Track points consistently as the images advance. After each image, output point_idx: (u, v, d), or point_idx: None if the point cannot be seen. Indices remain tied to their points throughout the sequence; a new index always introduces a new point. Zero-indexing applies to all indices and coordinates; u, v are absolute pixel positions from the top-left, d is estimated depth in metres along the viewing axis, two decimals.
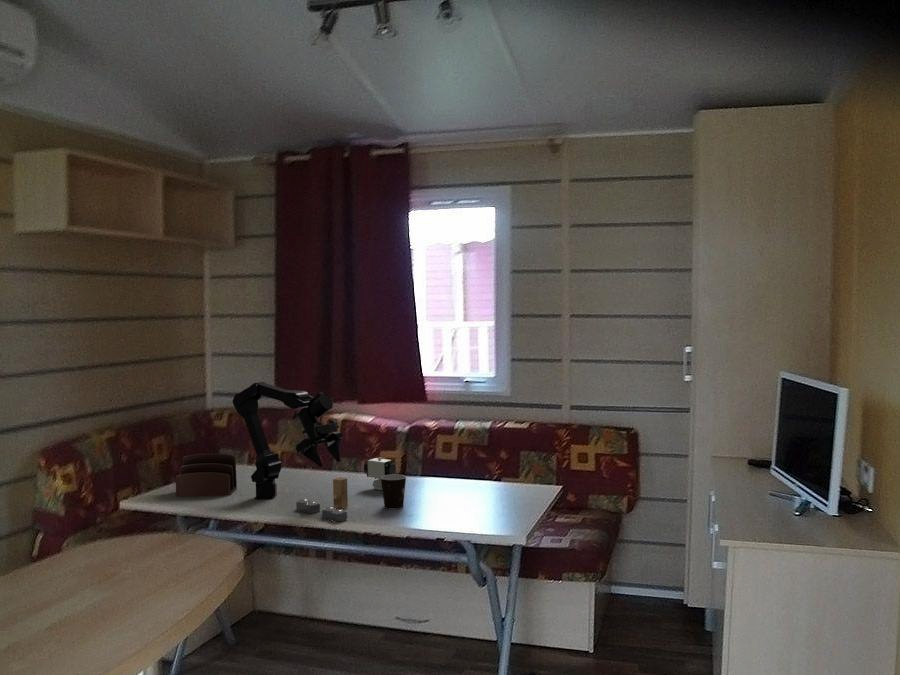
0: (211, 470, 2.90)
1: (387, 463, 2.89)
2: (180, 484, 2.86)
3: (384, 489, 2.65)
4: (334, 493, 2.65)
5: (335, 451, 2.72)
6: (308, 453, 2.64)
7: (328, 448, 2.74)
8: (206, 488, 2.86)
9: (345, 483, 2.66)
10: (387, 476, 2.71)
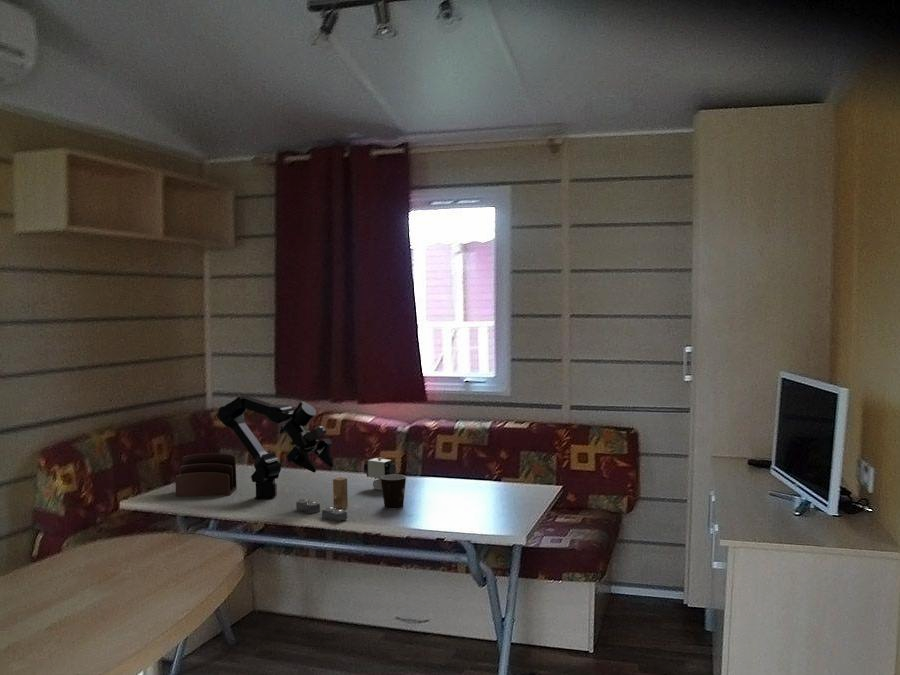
0: (211, 470, 2.91)
1: (387, 463, 2.89)
2: (179, 483, 2.86)
3: (384, 489, 2.65)
4: (334, 493, 2.65)
5: (326, 457, 2.74)
6: (300, 461, 2.66)
7: (319, 456, 2.76)
8: (206, 488, 2.86)
9: (345, 483, 2.66)
10: (387, 476, 2.71)
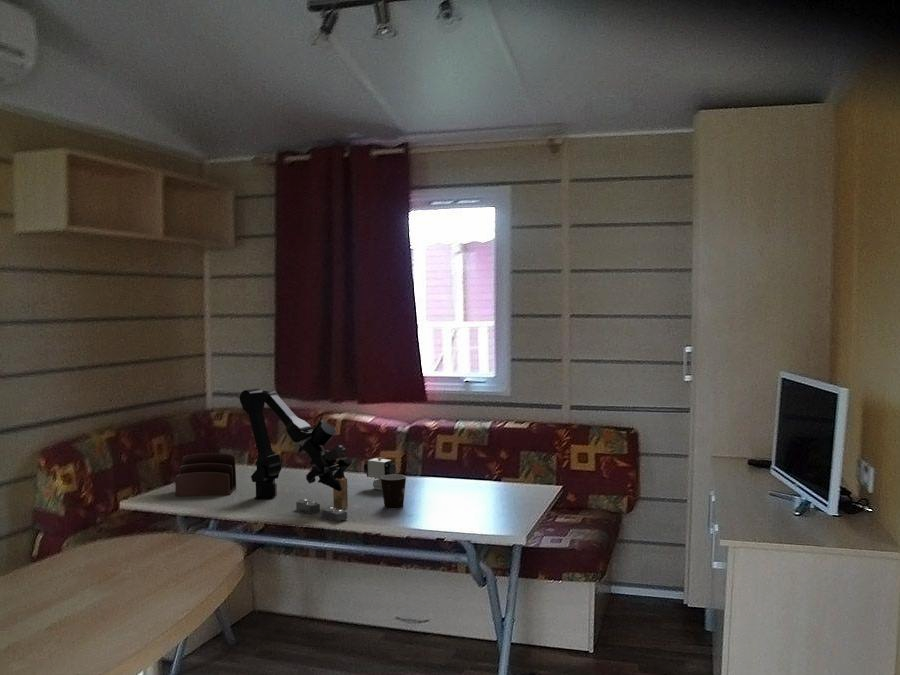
0: (211, 470, 2.91)
1: (387, 463, 2.89)
2: (179, 483, 2.87)
3: (384, 489, 2.65)
4: (334, 493, 2.65)
5: None
6: (325, 480, 2.65)
7: (333, 477, 2.70)
8: (206, 488, 2.87)
9: (345, 483, 2.66)
10: (387, 476, 2.71)
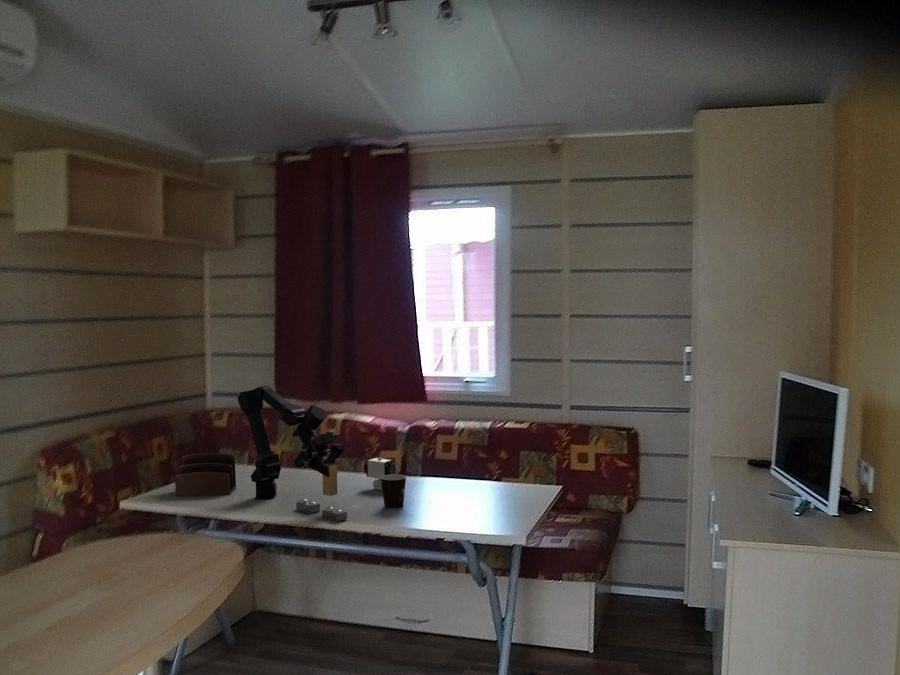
0: (210, 470, 2.91)
1: (387, 463, 2.89)
2: (179, 483, 2.87)
3: (384, 489, 2.65)
4: (323, 479, 2.61)
5: None
6: (314, 465, 2.61)
7: (325, 463, 2.66)
8: (206, 488, 2.87)
9: (334, 469, 2.61)
10: (387, 476, 2.71)
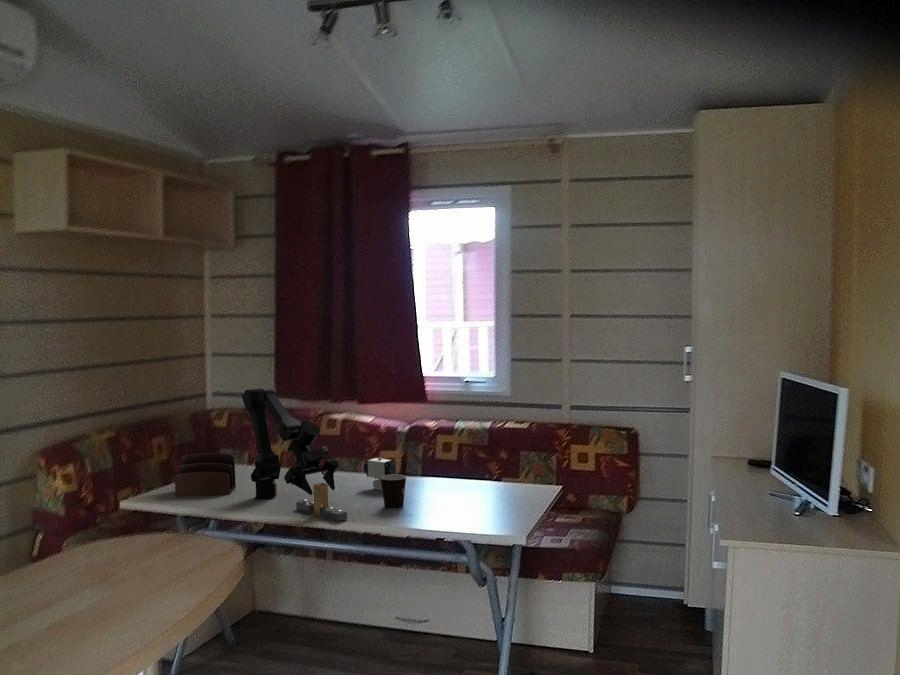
0: (210, 469, 2.91)
1: (387, 463, 2.89)
2: (179, 483, 2.87)
3: (384, 489, 2.65)
4: (314, 499, 2.58)
5: (329, 479, 2.62)
6: (298, 482, 2.57)
7: (324, 477, 2.65)
8: (205, 487, 2.87)
9: (325, 489, 2.57)
10: (387, 476, 2.71)
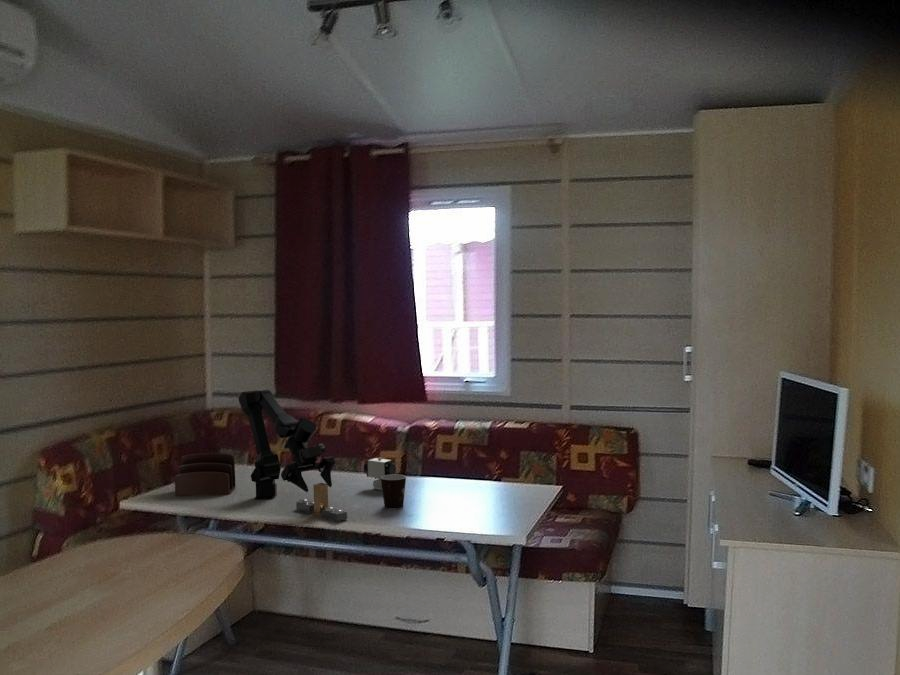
0: (210, 469, 2.92)
1: (387, 463, 2.89)
2: (179, 483, 2.87)
3: (384, 489, 2.65)
4: (314, 499, 2.58)
5: (326, 476, 2.64)
6: (294, 479, 2.58)
7: (321, 474, 2.66)
8: (205, 487, 2.87)
9: (325, 489, 2.57)
10: (387, 476, 2.71)
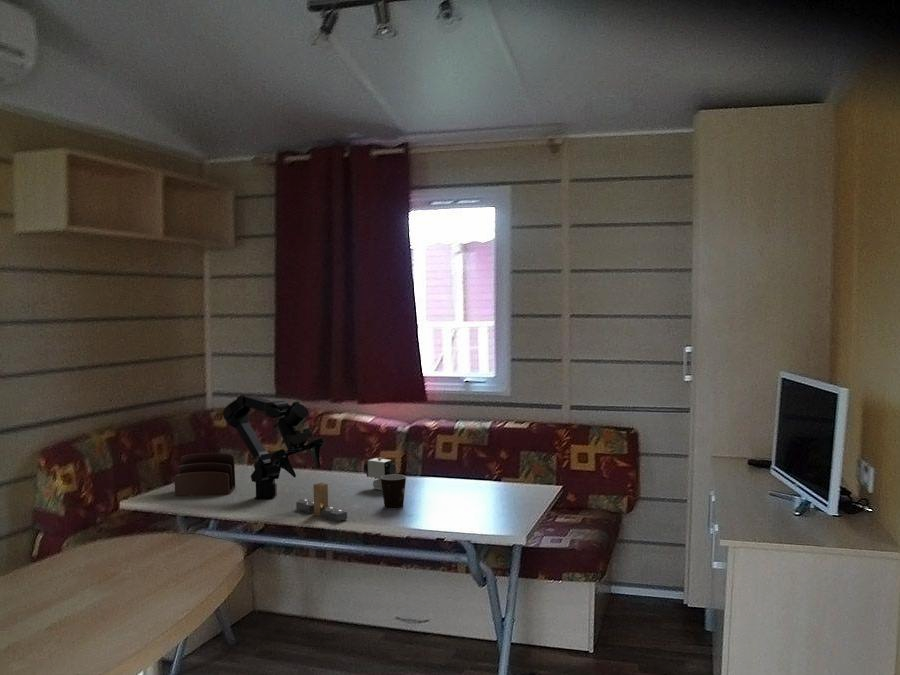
0: (210, 469, 2.92)
1: (387, 463, 2.89)
2: (179, 483, 2.87)
3: (384, 489, 2.65)
4: (314, 499, 2.58)
5: (315, 458, 2.71)
6: (283, 464, 2.67)
7: (311, 454, 2.74)
8: (205, 487, 2.87)
9: (325, 489, 2.57)
10: (387, 476, 2.71)
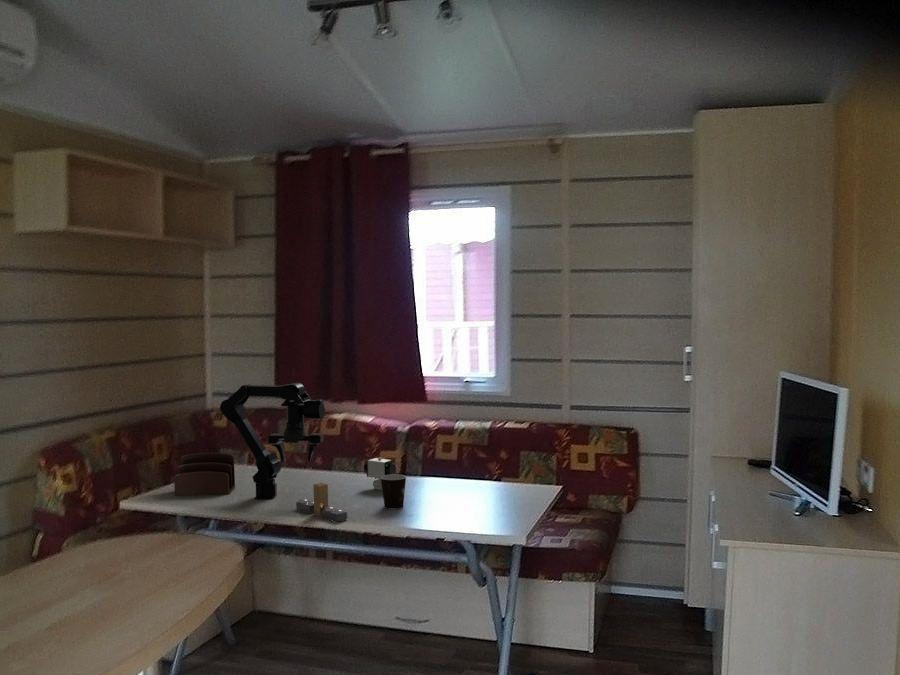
0: (210, 469, 2.92)
1: (387, 463, 2.89)
2: (178, 483, 2.87)
3: (384, 489, 2.65)
4: (314, 499, 2.58)
5: None
6: None
7: None
8: (205, 487, 2.88)
9: (325, 489, 2.57)
10: (387, 476, 2.71)
